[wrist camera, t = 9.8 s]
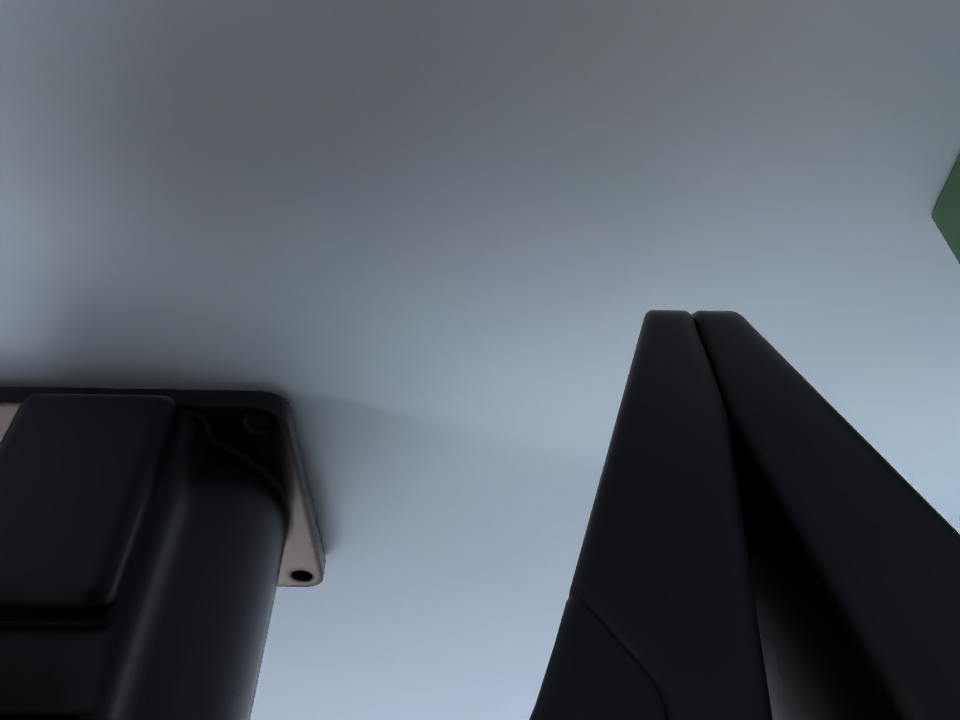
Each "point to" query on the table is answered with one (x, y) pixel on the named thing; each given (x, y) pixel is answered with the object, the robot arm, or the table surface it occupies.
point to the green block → (950, 211)
